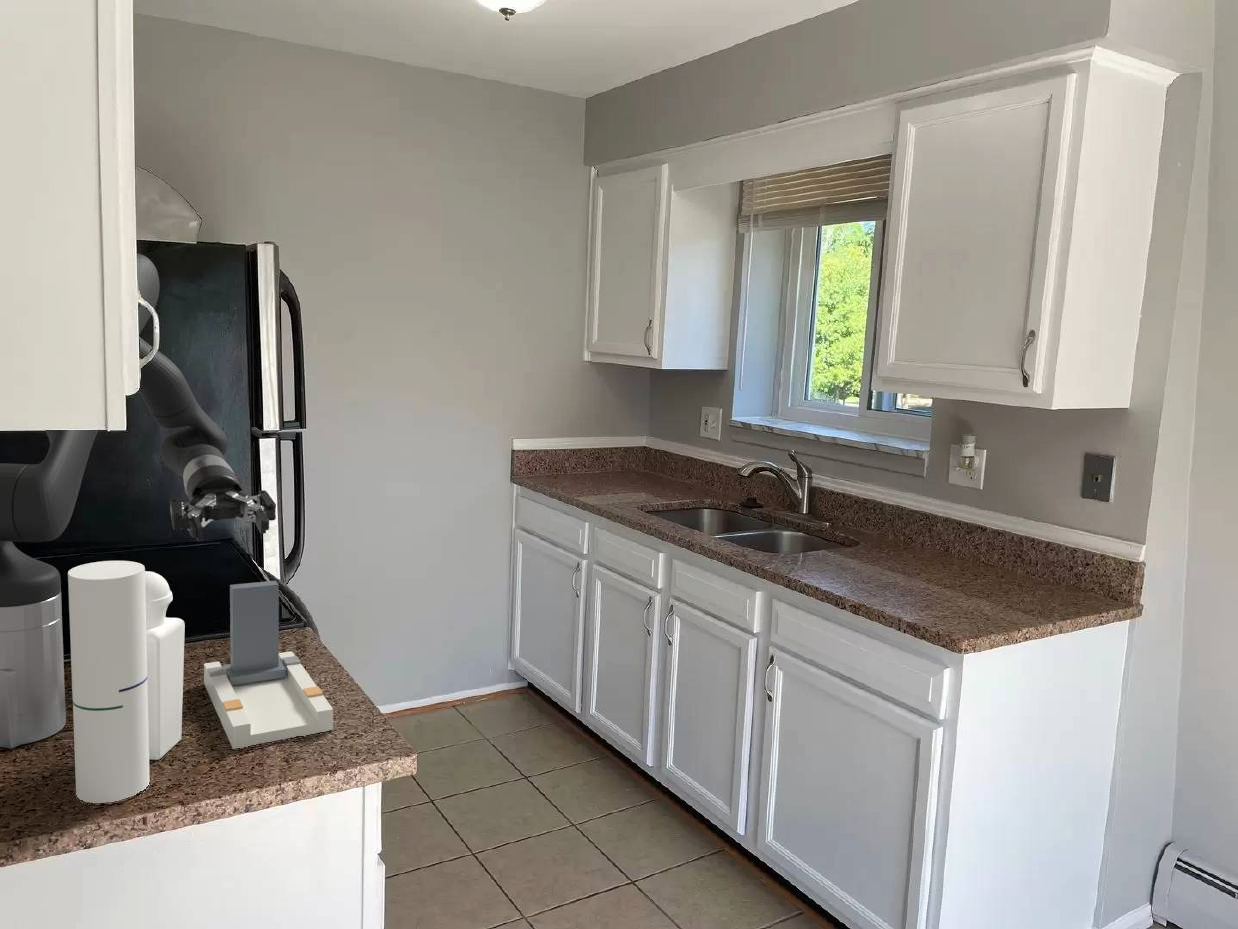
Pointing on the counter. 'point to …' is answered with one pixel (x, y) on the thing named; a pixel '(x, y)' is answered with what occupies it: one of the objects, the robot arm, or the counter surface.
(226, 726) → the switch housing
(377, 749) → the counter surface
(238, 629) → the switch tab
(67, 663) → the counter surface
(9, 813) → the counter surface
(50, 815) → the counter surface
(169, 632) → the soap dispenser
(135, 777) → the cylindrical container
